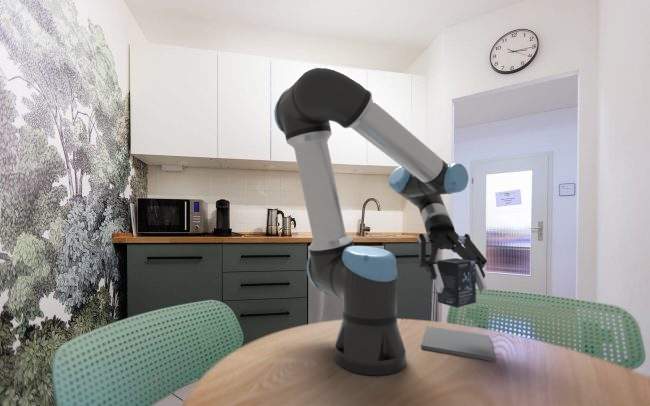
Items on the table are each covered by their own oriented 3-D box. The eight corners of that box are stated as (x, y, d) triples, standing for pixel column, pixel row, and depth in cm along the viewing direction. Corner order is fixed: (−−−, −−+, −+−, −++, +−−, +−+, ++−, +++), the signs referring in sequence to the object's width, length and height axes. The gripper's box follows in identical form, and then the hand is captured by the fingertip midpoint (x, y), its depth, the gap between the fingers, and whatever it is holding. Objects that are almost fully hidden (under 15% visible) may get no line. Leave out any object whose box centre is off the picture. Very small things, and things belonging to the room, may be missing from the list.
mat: (421, 348, 69) (421, 345, 69) (427, 329, 82) (426, 326, 82) (495, 361, 63) (494, 357, 63) (489, 338, 76) (488, 335, 76)
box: (458, 308, 69) (457, 262, 70) (437, 302, 74) (436, 259, 74) (477, 303, 73) (475, 260, 74) (456, 298, 78) (455, 257, 79)
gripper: (471, 231, 90) (503, 298, 73) (397, 231, 90) (412, 298, 73) (479, 213, 85) (516, 281, 68) (401, 213, 85) (418, 280, 68)
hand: (462, 290), depth 71 cm, fingers closed on box, 9 cm apart
